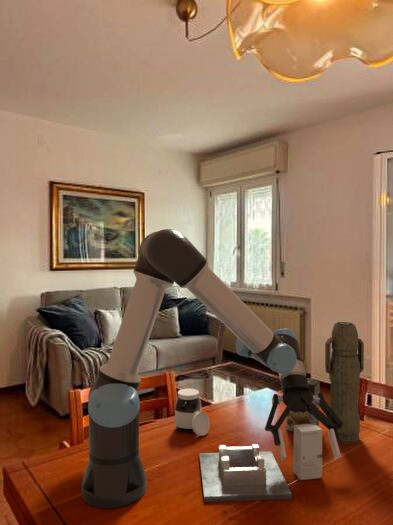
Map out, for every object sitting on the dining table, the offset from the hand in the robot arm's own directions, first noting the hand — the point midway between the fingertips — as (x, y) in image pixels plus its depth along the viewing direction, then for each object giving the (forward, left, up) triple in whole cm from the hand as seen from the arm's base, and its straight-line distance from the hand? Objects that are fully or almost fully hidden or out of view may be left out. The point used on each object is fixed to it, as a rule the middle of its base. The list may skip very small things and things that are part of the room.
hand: (310, 458), depth 100 cm
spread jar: (-28, +30, -6) cm, 41 cm away
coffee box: (+7, +28, -5) cm, 30 cm away
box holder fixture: (-17, +2, -5) cm, 18 cm away
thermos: (+18, +22, -5) cm, 29 cm away
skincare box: (0, +2, -5) cm, 6 cm away
